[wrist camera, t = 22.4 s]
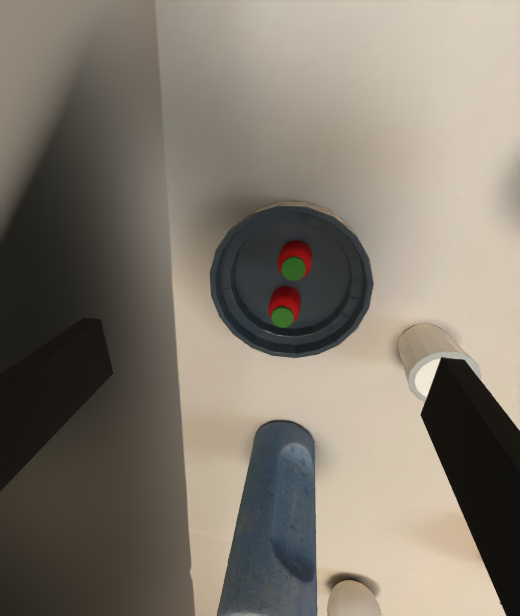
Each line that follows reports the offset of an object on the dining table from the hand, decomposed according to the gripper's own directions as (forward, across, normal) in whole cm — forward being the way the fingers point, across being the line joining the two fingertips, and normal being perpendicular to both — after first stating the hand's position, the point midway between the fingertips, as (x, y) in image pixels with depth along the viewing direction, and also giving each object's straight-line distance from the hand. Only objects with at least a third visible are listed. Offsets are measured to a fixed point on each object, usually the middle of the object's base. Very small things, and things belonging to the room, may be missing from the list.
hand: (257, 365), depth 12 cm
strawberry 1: (+24, 0, -2) cm, 24 cm away
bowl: (+25, 0, -5) cm, 25 cm away
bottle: (+25, +1, -33) cm, 41 cm away
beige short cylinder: (+25, +17, -12) cm, 32 cm away
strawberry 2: (+24, 0, -8) cm, 25 cm away
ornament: (+25, +18, -72) cm, 78 cm away
